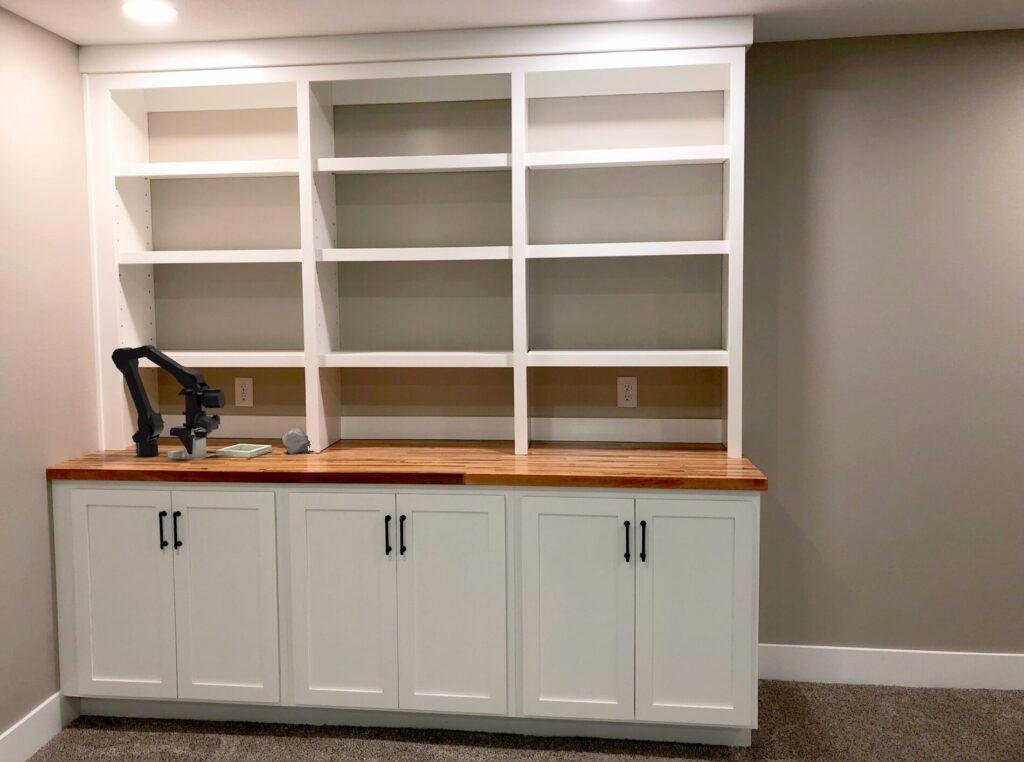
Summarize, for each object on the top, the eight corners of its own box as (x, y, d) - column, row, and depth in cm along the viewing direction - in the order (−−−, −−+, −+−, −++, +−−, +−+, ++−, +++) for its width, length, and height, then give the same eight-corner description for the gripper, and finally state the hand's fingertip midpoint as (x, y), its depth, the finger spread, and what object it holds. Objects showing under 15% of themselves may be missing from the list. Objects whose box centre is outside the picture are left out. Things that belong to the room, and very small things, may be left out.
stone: (300, 422, 306) (285, 426, 297) (319, 441, 305) (305, 445, 295) (285, 441, 308) (270, 445, 299) (304, 460, 307) (290, 464, 297)
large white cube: (184, 456, 290) (184, 439, 289) (194, 454, 294) (193, 437, 294) (197, 457, 288) (196, 440, 287) (206, 454, 293) (205, 437, 292)
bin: (216, 457, 294) (216, 450, 293) (240, 450, 307) (239, 443, 306) (249, 459, 290) (249, 452, 289) (272, 452, 302) (272, 445, 302)
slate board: (165, 460, 288) (165, 451, 288) (189, 454, 299) (188, 445, 299) (196, 462, 284) (196, 453, 284) (219, 456, 296) (219, 447, 295)
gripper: (195, 412, 278) (197, 459, 280) (230, 405, 296) (232, 449, 298) (167, 411, 282) (169, 457, 283) (203, 404, 299) (205, 447, 301)
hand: (195, 452), depth 291 cm, fingers closed on large white cube, 5 cm apart
